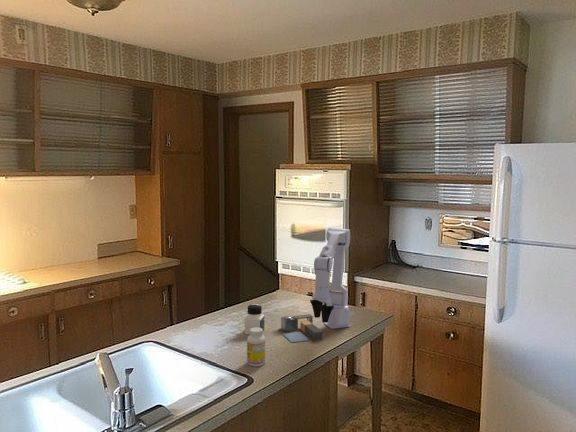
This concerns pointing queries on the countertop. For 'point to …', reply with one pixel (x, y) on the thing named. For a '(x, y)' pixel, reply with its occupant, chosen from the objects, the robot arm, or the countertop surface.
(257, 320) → the medicine bottle
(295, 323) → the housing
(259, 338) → the supplement bottle
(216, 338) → the countertop surface
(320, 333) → the plug
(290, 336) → the mat
